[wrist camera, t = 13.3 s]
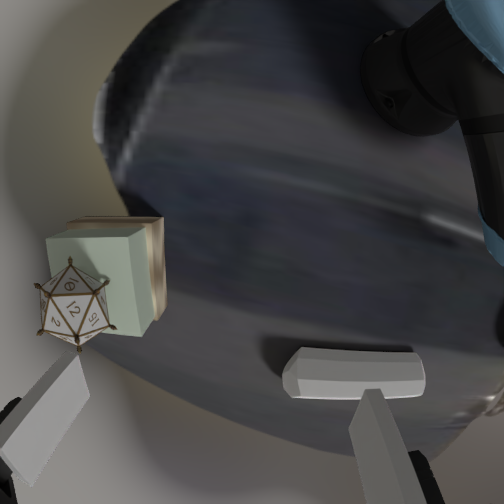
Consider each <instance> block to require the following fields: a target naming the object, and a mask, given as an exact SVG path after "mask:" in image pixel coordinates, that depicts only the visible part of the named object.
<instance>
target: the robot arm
mask: <svg viewBox="0 0 504 504" xmlns="http://www.w3.org/2000/svg"><path fill="white" fill-rule="evenodd" d="M360 70H361V79H362V84H363V87H364V90H365V92H366V95H367V97H368V99H369V101H370V102H371V104H372V105H373V107H374V108H375V110H376V111H377V112H378V113H379V114H380V116H381V117H382V118H383V119H384V120H386V121H387V122H388V123H389V124H390V125H392V126H393V127H395V128H396V129H398V130H400V131H402V132H404V133H407V134H410V135H414V136H430V135H436V134H439V133H442V132H444V131H446V130H447V129H449V128H450V127H451V126H452V125H453V124H454V123H455V122H456V121H457V120H459V123H460V126H461V129H462V133H463V137H464V140H465V144H466V147H467V151H468V155H469V159H470V163H471V168H472V172H473V177H474V182H475V188H476V193H477V199H478V214H479V217H480V220H481V221H482V227H483V233H484V240H485V243H486V246H487V249H488V251H489V252H490V253H491V254H492V255H493V257H494V259H495V260H496V261H497V262H498V263H499V264H501V265H502V266H503V267H504V0H442V1H441V2H439V3H438V4H437V5H436V6H434V7H433V8H432V9H431V10H430V11H428V12H427V13H426V14H425V15H424V16H422V17H421V18H420V19H419V20H418V21H416V22H415V23H414V24H413V25H412V26H411V27H408V28H402V29H397V30H392V31H388V32H385V33H383V34H381V35H379V36H378V37H377V38H375V39H374V40H373V41H372V42H371V43H370V44H369V46H368V47H367V48H366V50H365V52H364V54H363V56H362V60H361V69H360ZM89 397H90V394H89V391H88V388H87V385H86V381H85V378H84V374H83V371H82V367H81V364H80V360H79V356H78V354H74V353H71V352H68V351H65V352H64V353H63V355H62V356H61V357H60V358H59V359H58V360H57V361H56V362H55V363H54V364H53V365H52V366H51V367H50V368H49V370H48V371H47V372H46V373H45V374H44V375H43V376H42V377H41V378H40V380H39V381H38V382H37V383H36V384H35V385H34V386H33V387H32V388H31V390H30V391H29V392H28V393H27V394H26V395H25V396H24V397H23V398H20V397H17V398H15V399H14V400H12V401H10V402H9V403H8V404H7V405H6V406H5V407H4V410H2V411H1V412H0V504H18V503H17V498H16V494H15V489H14V484H13V480H12V477H11V474H12V473H14V474H15V475H16V477H17V478H18V479H19V480H21V481H22V482H24V483H26V484H27V485H29V486H31V487H32V486H33V485H34V483H35V481H36V479H37V478H38V476H39V475H40V473H41V471H42V470H43V468H44V466H45V465H46V463H47V461H48V460H49V458H50V457H51V455H52V453H53V452H54V450H55V449H56V447H57V446H58V444H59V442H60V441H61V439H62V438H63V436H64V435H65V433H66V432H67V430H68V428H69V427H70V425H71V424H72V422H73V421H74V419H75V418H76V416H77V415H78V413H79V412H80V410H81V409H82V407H83V406H84V404H85V403H86V401H87V400H88V398H89ZM348 429H349V433H350V437H351V440H352V444H353V448H354V452H355V456H356V460H357V464H358V468H359V473H360V477H361V481H362V485H363V489H364V494H365V498H366V503H367V504H445V502H444V500H443V497H442V495H441V492H440V490H439V487H438V485H437V482H436V480H435V478H434V477H433V476H434V475H433V473H432V470H430V466H429V463H428V461H427V459H426V457H425V456H424V455H423V454H422V453H421V452H420V451H419V450H416V451H411V452H407V450H406V447H405V445H404V442H403V440H402V437H401V435H400V433H399V430H398V428H397V425H396V423H395V421H394V418H393V416H392V414H391V411H390V409H389V407H388V405H387V402H386V400H385V398H384V395H383V393H382V391H381V389H380V388H378V389H365V390H364V393H363V396H362V398H361V401H360V403H359V405H358V408H357V410H356V413H355V415H354V417H353V419H352V422H351V424H350V426H349V428H348Z"/></svg>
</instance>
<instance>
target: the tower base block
mask: <svg viewBox="0 0 504 504" xmlns="http://www.w3.org/2000/svg"><path fill="white" fill-rule="evenodd" d="M135 227H146V240H147V252H148V262H149V272H150V281H151V289H152V297H153V305H154V312H155V317H154V319H153V320H158V319H159V318H160V316H161V315H162V313H163V311H164V310H165V308H166V307H167V292H166V275H165V254H164V217H129V216H85V217H82V218H79V219H76V220H73V221H70V222H67V230H70V229H99V228H135Z"/></svg>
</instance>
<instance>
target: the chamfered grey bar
mask: <svg viewBox="0 0 504 504" xmlns="http://www.w3.org/2000/svg"><path fill="white" fill-rule="evenodd" d="M305 358H306V359H305ZM318 359H319V360H318ZM333 360H334V361H333ZM353 361H354V362H353ZM282 379H283V388H284V390H285V391H286V392H287V393H288V394H289V395H290V396H291V397H292V398H310V399H361V398H362V396H363V393H364V390H365V389H378V388H380V389H381V391H382V393H383V395H384V398H385V399H387V398H404V397H416V396H420V395H422V394H423V391H424V388H425V372H424V369H423V365H422V361H421V358H420V357H419V356H418V355H417V354H416V353H406V352H369V351H349V350H333V349H320V348H308V347H301V348H300V349H299V350H298V351H297V352H296V353H295V354H294V355H293V356H292V357H291V358H290V360H289V361H288V363H287V364H286V366H285V367H284V370H283V373H282Z"/></svg>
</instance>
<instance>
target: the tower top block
mask: <svg viewBox="0 0 504 504" xmlns="http://www.w3.org/2000/svg"><path fill="white" fill-rule="evenodd" d="M46 245H47V252H48V259H49V264H50V270H51V275H52V278H53V277H54V276H55V275H57V274H58V273H59V272H61V271H62V270H63V269H65V268H66V267H67V266H69V264H68V258H69V257H70V256H71V258H72V259H73V260H72V262H73V263H72V265H73V266H74V267H76V268H78V269H79V270H81V271H82V272H84V273H86V274H87V275H89V276H91V277H93V278H94V279H96V280H98V281H99V282H101V283H104V281H106V280H110V282H109V285H106V286H105V293H106V301H107V308H108V315H109V322H110V324H111V325H112V324H113V325H114V326H116V328H117V329H118V330H112V329H111V328H109V327H108V328H107V329H105V330H103V331H102V332H103V333H111V334H120V335H130V336H140V337H142V336H143V334H144V333H145V331H146V329H147V328H148V326H149V325H150V323H151V322H152V320H153V319H154V317H155V312H154V305H153V297H152V289H151V281H150V272H149V262H148V252H147V240H146V227H135V228H99V229H70V230H66V231H64V232H61V233H59V234H56V235H54V236H51V237H49V238H46Z"/></svg>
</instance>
